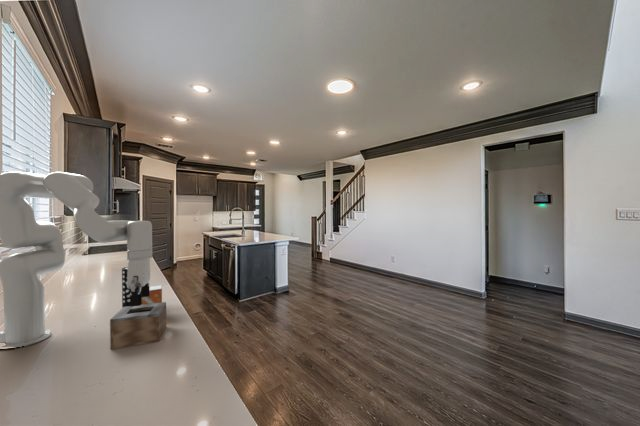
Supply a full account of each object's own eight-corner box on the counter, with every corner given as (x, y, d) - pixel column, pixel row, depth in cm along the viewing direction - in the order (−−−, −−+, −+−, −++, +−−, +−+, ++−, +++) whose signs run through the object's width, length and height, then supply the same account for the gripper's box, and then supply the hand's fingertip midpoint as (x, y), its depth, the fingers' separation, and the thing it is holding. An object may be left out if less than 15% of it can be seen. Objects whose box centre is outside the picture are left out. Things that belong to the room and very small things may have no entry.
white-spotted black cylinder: (118, 312, 115) (117, 268, 115) (137, 305, 123) (136, 265, 123) (129, 315, 112) (129, 270, 112) (148, 308, 120) (148, 266, 120)
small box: (139, 323, 104) (138, 291, 104) (140, 317, 109) (139, 287, 109) (162, 318, 109) (162, 288, 108) (162, 313, 114) (161, 284, 114)
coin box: (110, 349, 84) (110, 319, 84) (123, 333, 96) (123, 306, 95) (158, 341, 89) (158, 313, 89) (166, 326, 101) (166, 301, 100)
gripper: (135, 251, 99) (136, 294, 99) (118, 259, 83) (118, 311, 83) (157, 250, 102) (158, 292, 102) (145, 257, 85) (145, 308, 86)
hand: (140, 301), depth 92 cm, fingers open, 9 cm apart
